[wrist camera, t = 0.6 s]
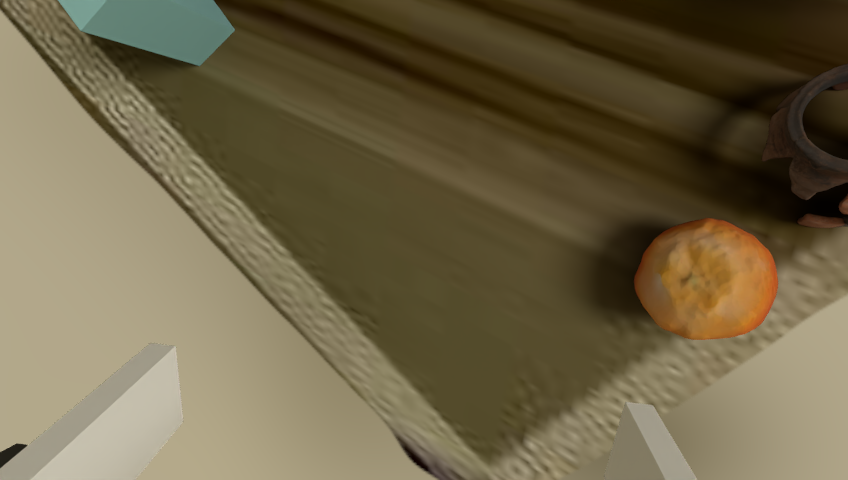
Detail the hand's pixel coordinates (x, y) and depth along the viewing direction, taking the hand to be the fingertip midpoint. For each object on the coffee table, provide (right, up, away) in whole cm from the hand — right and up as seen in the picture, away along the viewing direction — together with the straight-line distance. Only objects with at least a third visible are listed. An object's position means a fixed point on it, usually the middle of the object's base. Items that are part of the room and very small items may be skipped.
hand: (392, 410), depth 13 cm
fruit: (+20, +3, +21) cm, 29 cm away
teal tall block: (-18, +23, +25) cm, 38 cm away
